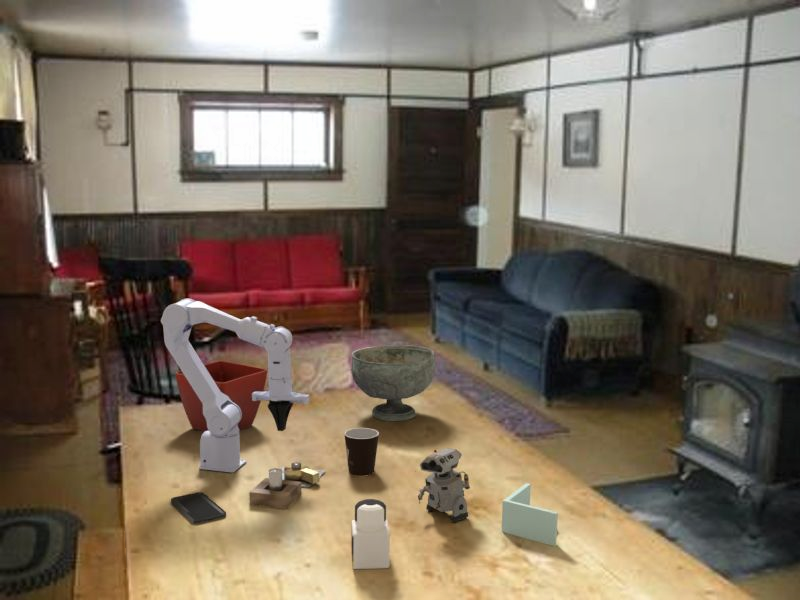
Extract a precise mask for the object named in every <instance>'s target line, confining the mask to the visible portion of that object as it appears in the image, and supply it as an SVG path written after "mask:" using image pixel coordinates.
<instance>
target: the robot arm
mask: <svg viewBox="0 0 800 600" xmlns="http://www.w3.org/2000/svg"><path fill="white" fill-rule="evenodd" d="M160 323H161V325H162V327H163V339H164V340H163V341H164V345H165V347H166V349H167V350H168V352H169V353H170V355H171V356H172V358H173V360H174V361H175V363H176V365H177V366H178V367H179V369H180V371H182V372H183V374H184V375H185V377H186V378H187V380H188V382H189V383H190V385H191V386H192V388H193V390H194V391H195V393H196V394H197V396H198V397H199V399H200V401H201V402H202V404H203V415H204V417H205V418H206V421H207V428H208V430H209V431H203V433H202V434H201V436H200V440H199V458H200V459H199V460H200V461H199V464H200V466H199V467H198V469H199V470H205V471H206V470H207V471H215V472H224V473H225V472H226V473H234V472H236V471H238V469H239V468H241V467H242V466H243V465H245V463H247V460H245V459H241V455H240V452H241V451H240V450H241V449H240V448H241V447H240V430H239V428H238V423H239V421H240V420H241V417H242V412H241V409H240V408H239V406H238V405H236V404H235V403H233V402H232V401H231V400H230V398H229V397H228V396H227V395H225V394H223V393H222V392H221V391H220V390H219V388H218V387H217V385H216V383H215V382H214V380H213V379H212V377H211V376H210V374H209V372H208V371H207V369H206V368H205V366H204V365H205V364H204V363H203V361H202V360H201V358H200V357H199V355H198V353H197V352H196V350H195V349H194V347H193V346H192V343H190V341H189V337H190V334H191V331H192V328H193V326H194V325H197V324H202V323H206V324H207V323H208V324H210V325H213V326H216V327H219V328H222V329H226V330H227V331H228V330H229V331H231V332H235V333H236V335H237V337H238V339H240V340H242V341H245V342H247V343H250V344H254V346H255V345H256V346H257V347H260V348H264V350H265V351H266V352H267V380H268V382H267V384H268V385H267V386H268V390H267V391H263V392H256V391H255V392H254V393H252V401H257V400H260V401H261V402H263V401H264V402H269V403H268V404H267V409H268V411H269V412H270V413H271V415H272V417H273V419H274V423H275V425H276V429H277V431H278V432H284V431H285V430H286V429H287V428H286V427H287V424H288V423H287V422H288V418H289V416H290V412H291V410H292V408H293V405H294V404H302V405H307V404H309V403H310V394H304V393H300V392H299V393H298V392H295V391H294V392H293V386H292V385H293V384H292V358H291V348H290V347H291V345H292V343H293V335H292V332H291V331H290V330H289V329H287V328H285V327H284V326H283V325H282V326H281V325H280V326H277V327H276V325H275V324H273V323H271V324H268V323H265V322H262V321H259V320H258V317H257V316H254V315H253V316H251V317H249V316H247V317H244V318H242V319H240V318H238V317H236V316H234V315H230V314H229V313H227V312H224V311H222V310H219V309H217V308H215V307H214V306H211V305H209V304H206V303H205V302H203V301H200V300H194V299H192V298H190V297H189V298H182V299H180V301H177V302H175V303H172V304H169V305H168V306H167V307H165V309H164V311H163V312H162V317H161V318H160Z"/></svg>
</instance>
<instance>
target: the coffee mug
mask: <svg viewBox="0 0 800 600" xmlns="http://www.w3.org/2000/svg"><path fill="white" fill-rule="evenodd" d="M379 435H380V432H379V431H378V430H377V429H375V428H374V429H373V428H368V427H354V428H350V429H347V430H346V431H344V441H345V450H346V460H347V469H348V473H349V474H350V475H351V476H355V475H356V477H367V476H366V475H368V476H371V475H373V474H374V473H375V466H376V459H377V452H378V444H379ZM373 472H374V473H373ZM372 473H373V474H372Z"/></svg>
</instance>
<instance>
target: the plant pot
mask: <svg viewBox="0 0 800 600" xmlns="http://www.w3.org/2000/svg"><path fill="white" fill-rule="evenodd" d="M204 366H205V368H206V369H207V371H208V372H209V374H210V376H211V377H212V379H213V380H214V382H215V383H216V385H217V387H218V388H219V390H220V391H221V392H222V393H223V394H225V395H227V396H228V397H229V398H230V400H231V401H232V402H233V403H235V404H236V405H238V406H239V408H240V409H241V412H242V417H241V420H240V421H239V423H238V428H239V431H240V430H241V431H242V430H244V429H245V428H249V427H252V426H253V423H254V421H255V419H256V416H257V413H258V412H259V411H258V410H259V408H260V404H261V402H262V401H260V400H257V401H252V393H254V392H255V391H256V392H265V391H264V390H265V386H266V380H267V377H268V368H266V369H265V368H262V367H257V366H251V365H246V364H243V363H236V362H232V361H226V360H217V361H213V362H210V363H205V364H204ZM175 381H176V384H177V385H176V386H177V390H178V392H179V396H180V400H181V403H182V406H183V410H184V412H185V415H186V418H187V420H188V422H189V424H190V426H191V428H192V429H195V430H199V431H201V432H205V431H209V430H208V428H207V421H206V418H205V417H204V415H203V404H202V402H201V401H200V399H199V397H198V396H197V394H196V393H195V391H194V390H193V388H192V386H191V385H190V383H189V382H188V380H187V378H186V377H185V375H184V374H183V372H182V371H181V370H179V371H175Z"/></svg>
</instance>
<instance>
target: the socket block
mask: <svg viewBox="0 0 800 600" xmlns="http://www.w3.org/2000/svg"><path fill="white" fill-rule="evenodd" d="M301 495H302V487H301V482H297V481H289V480H282V491H273V490H269V477H265V478H264V479H263V480H261V481H260V482H259V483H258V484H256V485H255V487H253V488H252V489H251V490H250V491H249V505H251V506H256V507H257V506H258V507H259V506H260V507H265V508H266V507H268V508H275V509H283V510H288V509H289V507H291V506H292V505H293V504H294V502H295V501H296V500H297V499H298V498H299V497H301Z"/></svg>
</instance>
